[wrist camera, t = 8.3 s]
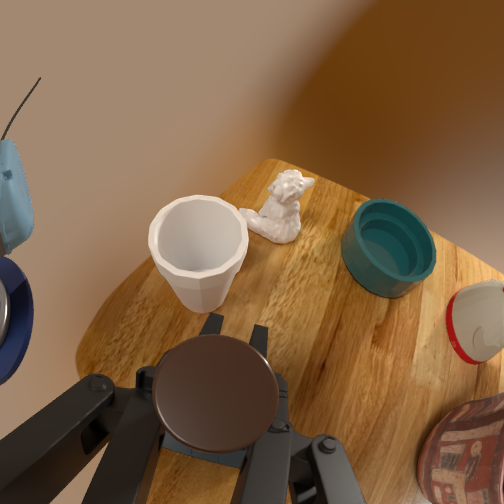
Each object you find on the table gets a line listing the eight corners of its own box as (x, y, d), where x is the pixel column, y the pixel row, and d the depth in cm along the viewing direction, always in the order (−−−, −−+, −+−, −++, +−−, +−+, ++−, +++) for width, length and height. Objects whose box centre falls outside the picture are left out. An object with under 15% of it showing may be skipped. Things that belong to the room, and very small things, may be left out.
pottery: (437, 381, 34) (531, 344, 18) (492, 427, 29) (574, 404, 14) (377, 486, 25) (475, 505, 10) (445, 518, 21) (531, 528, 5)
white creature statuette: (281, 196, 48) (297, 139, 38) (314, 234, 45) (340, 179, 35) (232, 217, 45) (239, 157, 34) (265, 260, 41) (281, 204, 31)
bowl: (322, 258, 43) (336, 234, 38) (363, 207, 49) (377, 184, 44) (396, 318, 39) (419, 302, 34) (426, 257, 45) (444, 238, 40)
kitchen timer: (481, 379, 34) (548, 351, 21) (435, 333, 38) (502, 291, 25) (499, 320, 40) (552, 285, 27) (458, 277, 44) (510, 231, 31)
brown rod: (200, 409, 22) (125, 390, 3) (214, 395, 23) (213, 308, 4) (216, 423, 22) (220, 478, 3) (230, 409, 22) (305, 388, 4)
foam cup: (226, 253, 41) (232, 187, 30) (248, 313, 37) (263, 262, 26) (160, 269, 39) (142, 206, 28) (175, 332, 34) (156, 289, 23)
